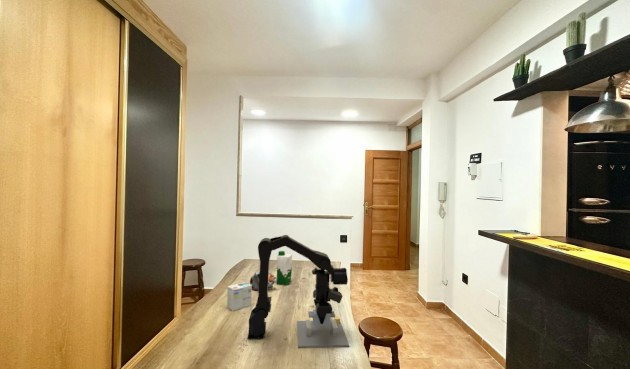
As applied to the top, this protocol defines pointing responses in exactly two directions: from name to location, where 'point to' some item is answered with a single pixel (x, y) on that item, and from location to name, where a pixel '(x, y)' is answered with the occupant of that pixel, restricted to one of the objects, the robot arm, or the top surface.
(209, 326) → the top surface
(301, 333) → the plate
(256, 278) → the lucky cat figurine
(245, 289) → the light bulb box
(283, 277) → the milk carton
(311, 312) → the servo block
